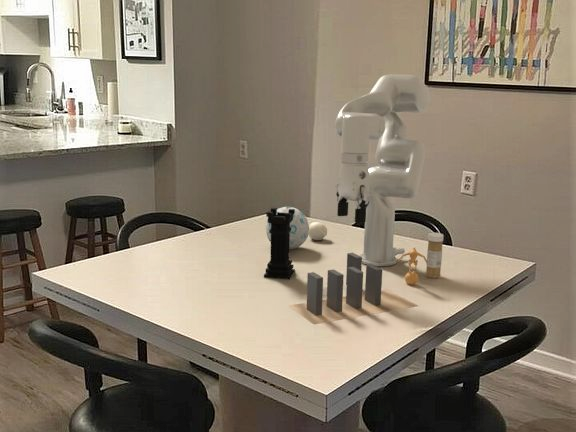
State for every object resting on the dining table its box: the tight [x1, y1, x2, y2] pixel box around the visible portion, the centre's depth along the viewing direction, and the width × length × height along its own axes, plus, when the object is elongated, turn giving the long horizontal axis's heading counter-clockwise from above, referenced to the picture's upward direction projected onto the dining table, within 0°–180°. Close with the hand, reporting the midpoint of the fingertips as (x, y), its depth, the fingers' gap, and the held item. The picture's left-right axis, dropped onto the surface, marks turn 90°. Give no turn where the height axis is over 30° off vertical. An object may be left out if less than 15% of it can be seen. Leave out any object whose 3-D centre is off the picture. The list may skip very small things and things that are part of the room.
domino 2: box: [326, 269, 345, 312], centre depth 170 cm, size 2×5×10 cm, turn 26°
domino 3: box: [345, 252, 363, 286], centre depth 187 cm, size 2×5×10 cm, turn 27°
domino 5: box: [364, 264, 383, 306], centre depth 175 cm, size 2×5×10 cm, turn 26°
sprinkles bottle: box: [425, 232, 444, 279], centre depth 199 cm, size 5×5×13 cm
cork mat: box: [288, 289, 419, 325], centre depth 173 cm, size 32×14×1 cm, turn 116°
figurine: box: [397, 246, 427, 286], centre depth 190 cm, size 8×6×12 cm
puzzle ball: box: [265, 206, 310, 251], centre depth 226 cm, size 15×15×15 cm
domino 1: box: [306, 271, 324, 316], centre depth 167 cm, size 2×5×10 cm, turn 27°
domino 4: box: [345, 266, 364, 309], centre depth 172 cm, size 2×5×10 cm, turn 26°
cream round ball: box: [308, 221, 328, 241], centre depth 240 cm, size 7×7×7 cm
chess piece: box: [263, 207, 296, 281], centre depth 197 cm, size 8×8×20 cm
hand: (351, 219), depth 185 cm, fingers open, 9 cm apart
